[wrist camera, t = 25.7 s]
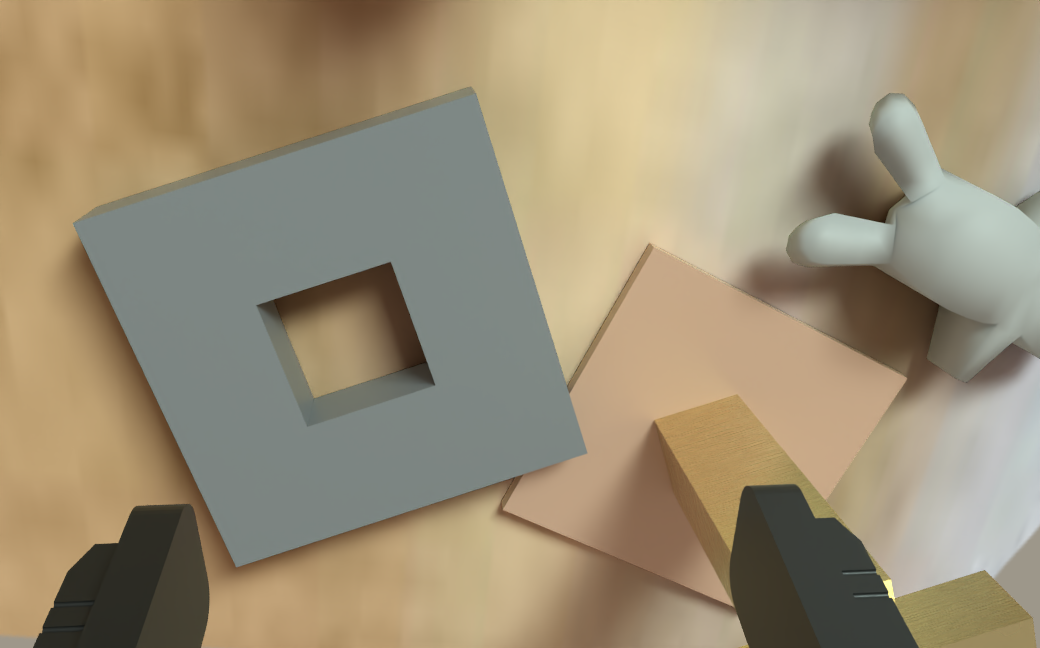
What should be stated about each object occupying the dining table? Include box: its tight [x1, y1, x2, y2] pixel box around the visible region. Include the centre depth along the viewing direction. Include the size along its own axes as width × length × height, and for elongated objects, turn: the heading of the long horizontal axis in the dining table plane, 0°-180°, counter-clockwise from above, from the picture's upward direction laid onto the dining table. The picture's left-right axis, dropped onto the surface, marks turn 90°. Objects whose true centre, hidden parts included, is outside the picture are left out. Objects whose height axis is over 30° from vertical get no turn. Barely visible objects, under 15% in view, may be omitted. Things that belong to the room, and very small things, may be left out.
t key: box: [654, 394, 1036, 648], centre depth 37 cm, size 10×4×18 cm, turn 106°
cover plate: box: [73, 87, 587, 567], centre depth 41 cm, size 16×16×3 cm
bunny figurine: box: [786, 93, 1040, 383], centre depth 42 cm, size 10×5×15 cm
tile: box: [501, 243, 908, 607], centre depth 45 cm, size 14×14×1 cm
